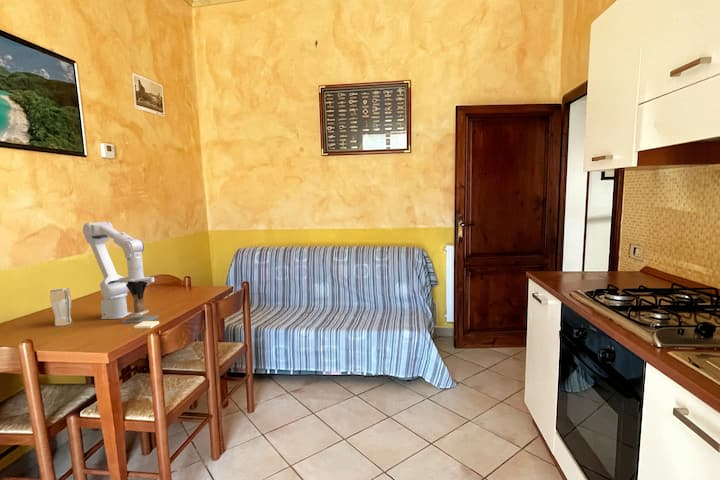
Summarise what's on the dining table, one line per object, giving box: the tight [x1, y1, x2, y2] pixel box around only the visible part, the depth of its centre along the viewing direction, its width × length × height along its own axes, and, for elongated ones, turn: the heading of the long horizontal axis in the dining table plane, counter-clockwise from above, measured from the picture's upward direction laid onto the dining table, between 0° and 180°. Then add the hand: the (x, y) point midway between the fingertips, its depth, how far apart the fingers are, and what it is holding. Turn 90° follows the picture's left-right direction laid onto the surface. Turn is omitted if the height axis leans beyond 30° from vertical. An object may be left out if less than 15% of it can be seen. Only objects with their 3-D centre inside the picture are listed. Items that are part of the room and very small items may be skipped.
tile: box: [133, 320, 160, 330], centre depth 157 cm, size 2×6×7 cm
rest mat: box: [120, 315, 160, 324], centre depth 165 cm, size 12×8×1 cm, turn 89°
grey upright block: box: [128, 294, 150, 316], centre depth 164 cm, size 5×6×9 cm
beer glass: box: [49, 287, 73, 327], centre depth 162 cm, size 7×7×15 cm
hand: (138, 298), depth 164 cm, fingers closed on grey upright block
